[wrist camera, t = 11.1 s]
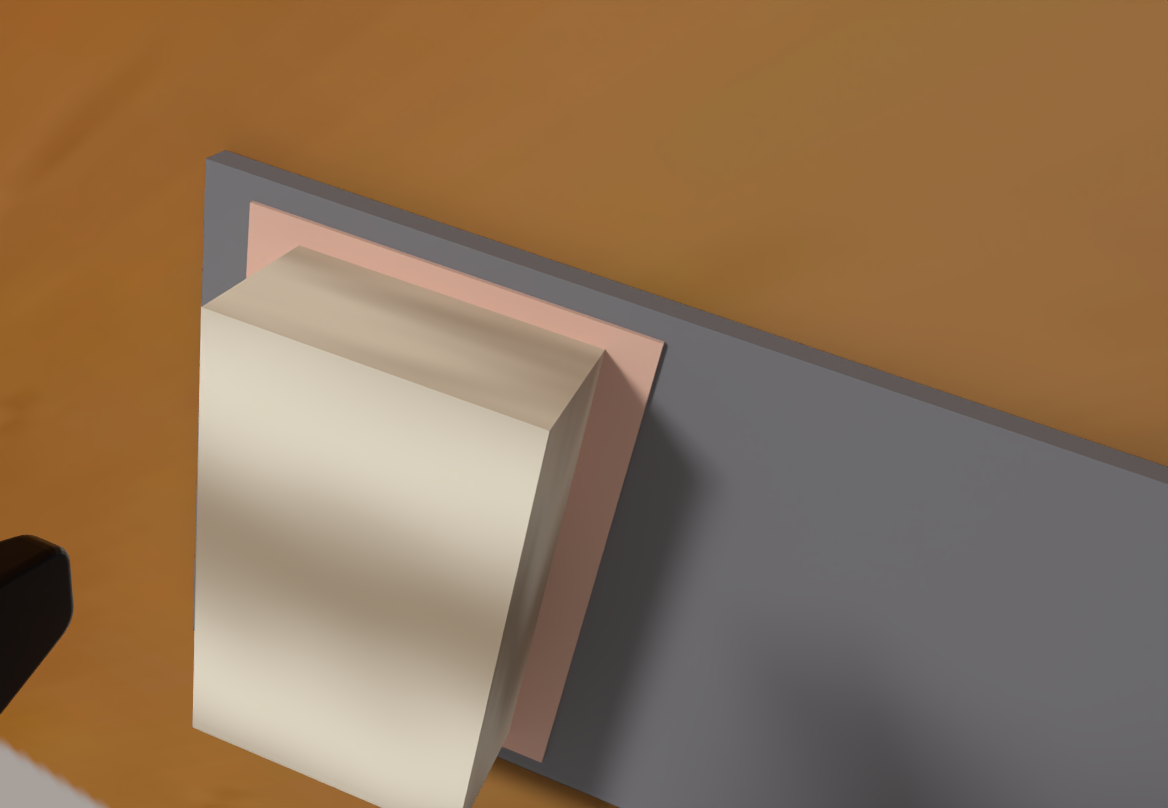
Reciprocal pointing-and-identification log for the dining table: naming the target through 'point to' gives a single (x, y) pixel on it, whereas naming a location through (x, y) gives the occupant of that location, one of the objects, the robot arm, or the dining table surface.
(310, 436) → the block
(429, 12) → the dining table surface
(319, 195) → the mat
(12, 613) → the robot arm
